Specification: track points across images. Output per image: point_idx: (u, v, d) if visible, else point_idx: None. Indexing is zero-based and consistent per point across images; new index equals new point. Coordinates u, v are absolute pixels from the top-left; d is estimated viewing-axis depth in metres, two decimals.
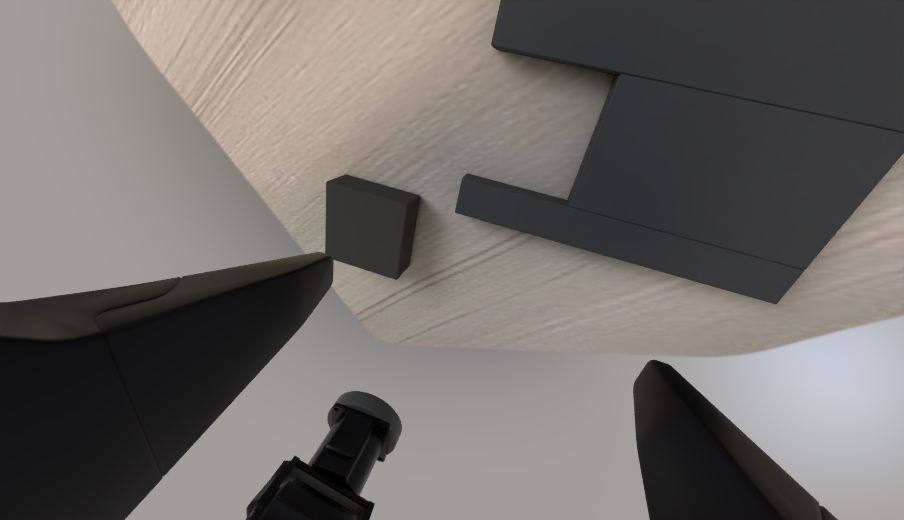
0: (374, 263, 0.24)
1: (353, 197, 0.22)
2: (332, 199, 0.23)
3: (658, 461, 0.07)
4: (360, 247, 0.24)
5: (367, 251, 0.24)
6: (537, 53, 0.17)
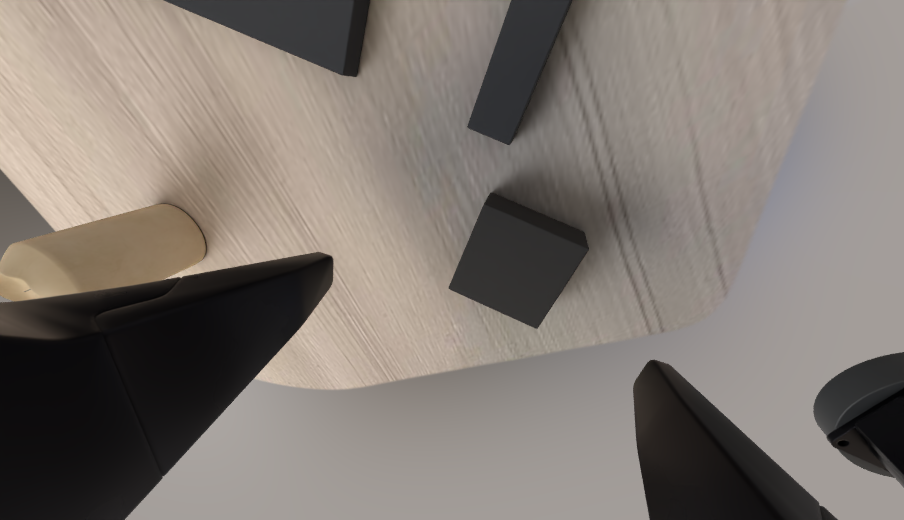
0: (557, 271, 0.18)
1: (468, 265, 0.19)
2: (467, 290, 0.20)
3: (658, 461, 0.07)
4: (530, 280, 0.19)
5: (537, 274, 0.18)
6: (350, 20, 0.16)
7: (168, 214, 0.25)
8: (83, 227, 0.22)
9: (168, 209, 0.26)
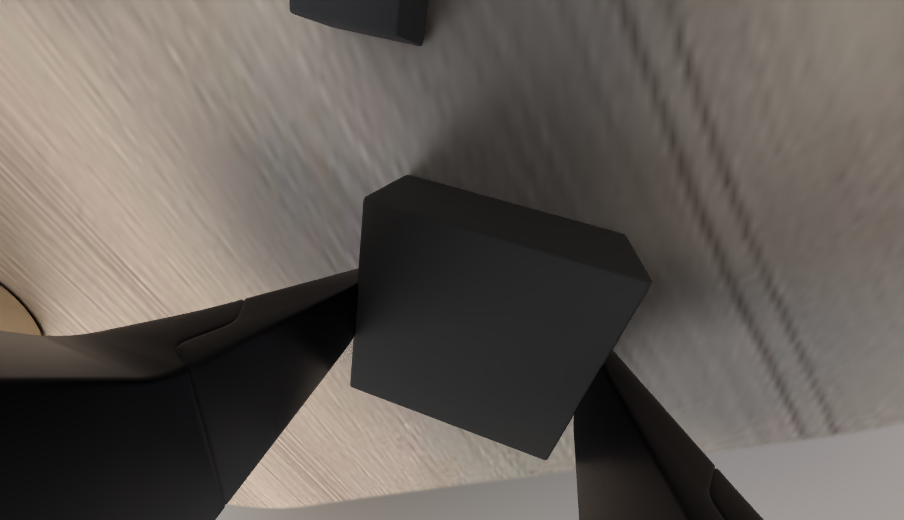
0: (572, 342, 0.07)
1: (372, 341, 0.09)
2: (386, 388, 0.09)
3: (587, 435, 0.07)
4: (512, 366, 0.08)
5: (526, 351, 0.08)
6: None
7: None
8: None
9: None
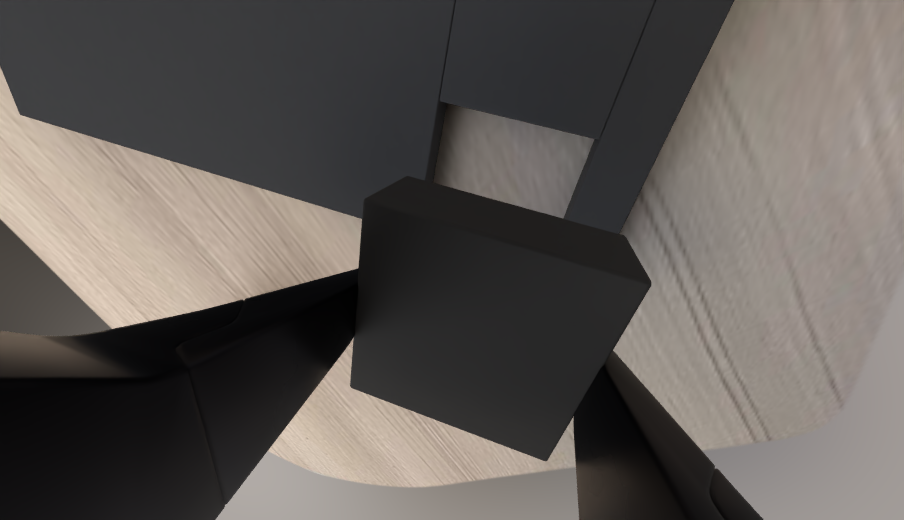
0: (572, 343, 0.07)
1: (371, 342, 0.09)
2: (386, 389, 0.09)
3: (587, 435, 0.07)
4: (512, 367, 0.08)
5: (525, 353, 0.08)
6: None
7: None
8: None
9: None
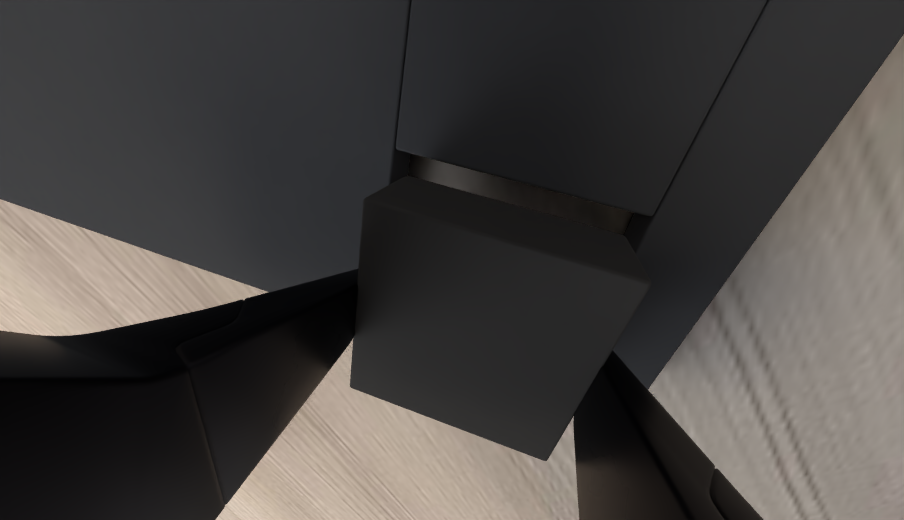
0: (572, 343, 0.07)
1: (371, 342, 0.09)
2: (386, 389, 0.09)
3: (587, 435, 0.07)
4: (512, 367, 0.08)
5: (525, 352, 0.08)
6: None
7: None
8: None
9: None
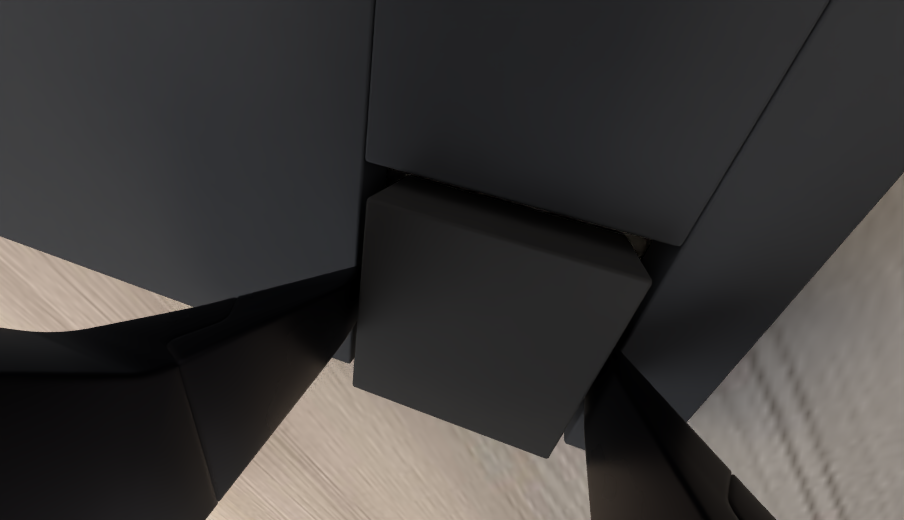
0: (573, 342, 0.07)
1: (374, 341, 0.09)
2: (388, 388, 0.09)
3: (598, 439, 0.07)
4: (513, 365, 0.08)
5: (527, 351, 0.08)
6: None
7: None
8: None
9: None
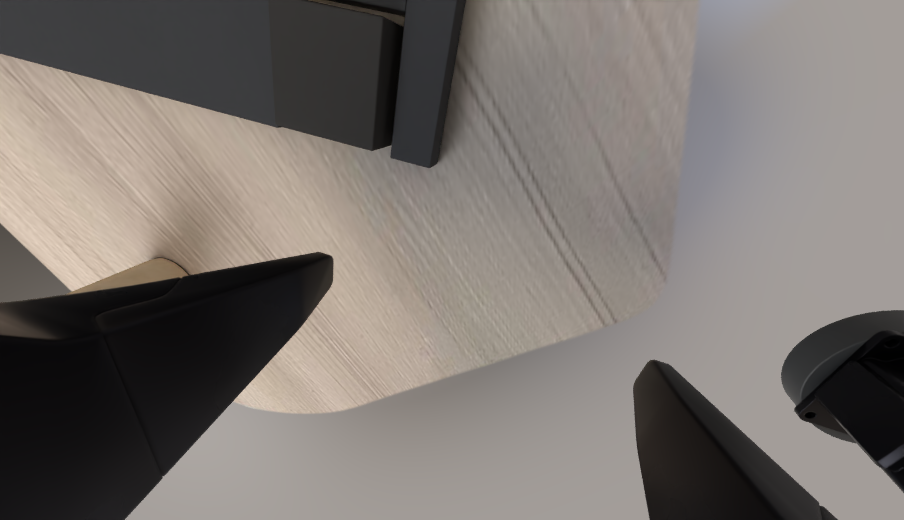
0: (363, 60, 0.16)
1: (281, 85, 0.17)
2: (292, 119, 0.18)
3: (658, 461, 0.07)
4: (343, 84, 0.16)
5: (347, 72, 0.16)
6: None
7: (160, 267, 0.28)
8: (84, 289, 0.24)
9: (159, 262, 0.29)
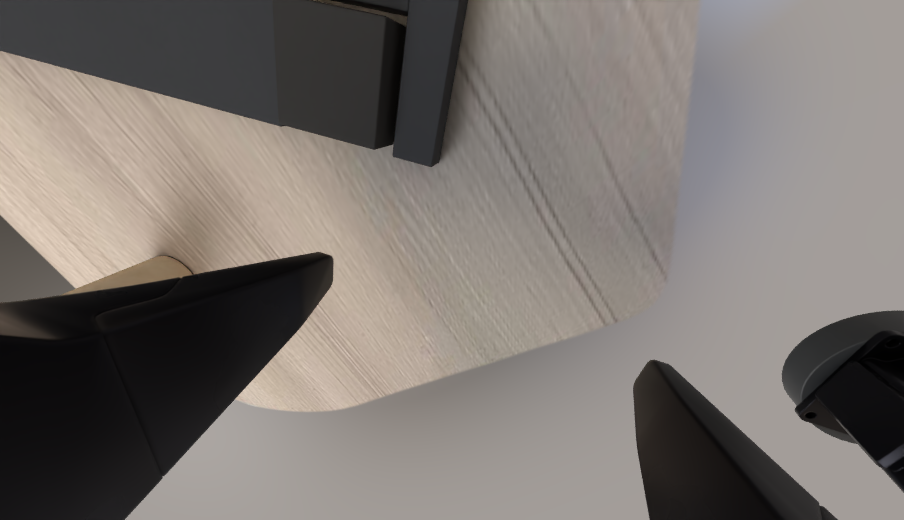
0: (366, 60, 0.16)
1: (284, 84, 0.17)
2: (295, 118, 0.18)
3: (658, 461, 0.07)
4: (346, 83, 0.17)
5: (350, 71, 0.16)
6: None
7: (164, 264, 0.28)
8: (88, 286, 0.25)
9: (163, 260, 0.29)
